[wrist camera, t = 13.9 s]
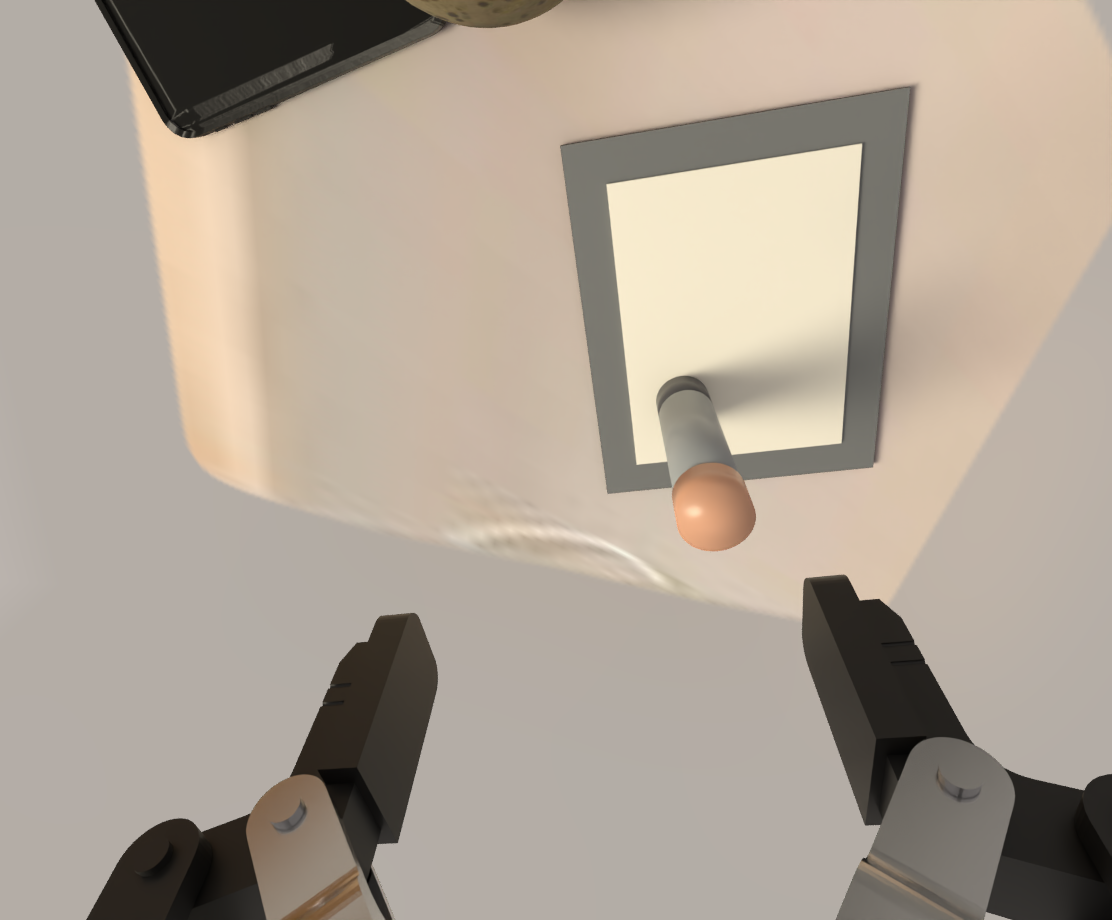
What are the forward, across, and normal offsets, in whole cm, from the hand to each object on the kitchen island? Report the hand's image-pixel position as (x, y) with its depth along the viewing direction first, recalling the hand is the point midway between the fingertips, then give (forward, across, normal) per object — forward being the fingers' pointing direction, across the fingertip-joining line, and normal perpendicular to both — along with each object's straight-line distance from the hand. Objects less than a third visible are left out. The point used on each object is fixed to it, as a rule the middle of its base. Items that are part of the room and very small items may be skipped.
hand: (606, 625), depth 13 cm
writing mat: (+25, -7, +3) cm, 26 cm away
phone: (+26, +13, -15) cm, 33 cm away
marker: (+24, -4, +7) cm, 25 cm away
